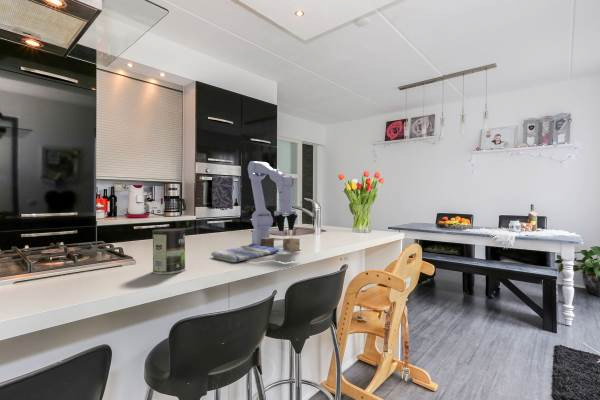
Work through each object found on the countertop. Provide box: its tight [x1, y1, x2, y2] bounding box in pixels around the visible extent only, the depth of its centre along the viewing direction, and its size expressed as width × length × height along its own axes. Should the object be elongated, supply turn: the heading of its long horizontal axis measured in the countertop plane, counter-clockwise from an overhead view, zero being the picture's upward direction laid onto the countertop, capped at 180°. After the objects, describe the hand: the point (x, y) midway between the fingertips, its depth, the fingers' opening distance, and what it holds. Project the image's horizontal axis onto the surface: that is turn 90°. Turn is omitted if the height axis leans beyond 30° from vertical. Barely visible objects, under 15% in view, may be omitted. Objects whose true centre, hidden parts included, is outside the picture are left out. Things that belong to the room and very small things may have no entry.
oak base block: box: [282, 236, 301, 252], centre depth 142 cm, size 6×6×5 cm
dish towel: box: [210, 243, 279, 263], centre depth 128 cm, size 17×24×3 cm
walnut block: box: [260, 236, 275, 248], centre depth 143 cm, size 4×4×5 cm
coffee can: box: [151, 227, 186, 275], centre depth 103 cm, size 10×10×14 cm
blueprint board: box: [274, 244, 303, 254], centre depth 143 cm, size 16×16×1 cm
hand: (286, 230), depth 141 cm, fingers open, 7 cm apart
